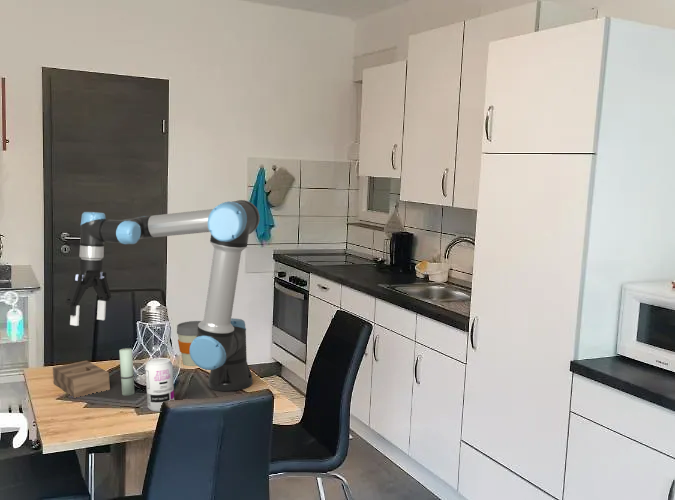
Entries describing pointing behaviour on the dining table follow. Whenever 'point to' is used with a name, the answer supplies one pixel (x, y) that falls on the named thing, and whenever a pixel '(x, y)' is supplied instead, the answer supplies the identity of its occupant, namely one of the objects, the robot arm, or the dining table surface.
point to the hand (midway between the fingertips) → (88, 322)
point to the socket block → (81, 378)
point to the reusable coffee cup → (187, 340)
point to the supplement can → (159, 382)
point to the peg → (126, 371)
